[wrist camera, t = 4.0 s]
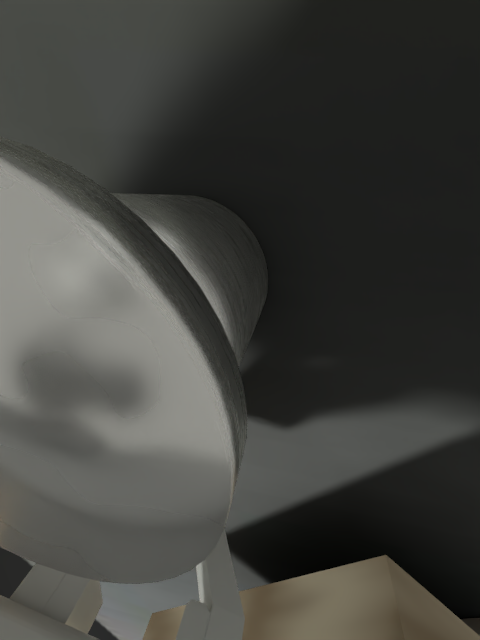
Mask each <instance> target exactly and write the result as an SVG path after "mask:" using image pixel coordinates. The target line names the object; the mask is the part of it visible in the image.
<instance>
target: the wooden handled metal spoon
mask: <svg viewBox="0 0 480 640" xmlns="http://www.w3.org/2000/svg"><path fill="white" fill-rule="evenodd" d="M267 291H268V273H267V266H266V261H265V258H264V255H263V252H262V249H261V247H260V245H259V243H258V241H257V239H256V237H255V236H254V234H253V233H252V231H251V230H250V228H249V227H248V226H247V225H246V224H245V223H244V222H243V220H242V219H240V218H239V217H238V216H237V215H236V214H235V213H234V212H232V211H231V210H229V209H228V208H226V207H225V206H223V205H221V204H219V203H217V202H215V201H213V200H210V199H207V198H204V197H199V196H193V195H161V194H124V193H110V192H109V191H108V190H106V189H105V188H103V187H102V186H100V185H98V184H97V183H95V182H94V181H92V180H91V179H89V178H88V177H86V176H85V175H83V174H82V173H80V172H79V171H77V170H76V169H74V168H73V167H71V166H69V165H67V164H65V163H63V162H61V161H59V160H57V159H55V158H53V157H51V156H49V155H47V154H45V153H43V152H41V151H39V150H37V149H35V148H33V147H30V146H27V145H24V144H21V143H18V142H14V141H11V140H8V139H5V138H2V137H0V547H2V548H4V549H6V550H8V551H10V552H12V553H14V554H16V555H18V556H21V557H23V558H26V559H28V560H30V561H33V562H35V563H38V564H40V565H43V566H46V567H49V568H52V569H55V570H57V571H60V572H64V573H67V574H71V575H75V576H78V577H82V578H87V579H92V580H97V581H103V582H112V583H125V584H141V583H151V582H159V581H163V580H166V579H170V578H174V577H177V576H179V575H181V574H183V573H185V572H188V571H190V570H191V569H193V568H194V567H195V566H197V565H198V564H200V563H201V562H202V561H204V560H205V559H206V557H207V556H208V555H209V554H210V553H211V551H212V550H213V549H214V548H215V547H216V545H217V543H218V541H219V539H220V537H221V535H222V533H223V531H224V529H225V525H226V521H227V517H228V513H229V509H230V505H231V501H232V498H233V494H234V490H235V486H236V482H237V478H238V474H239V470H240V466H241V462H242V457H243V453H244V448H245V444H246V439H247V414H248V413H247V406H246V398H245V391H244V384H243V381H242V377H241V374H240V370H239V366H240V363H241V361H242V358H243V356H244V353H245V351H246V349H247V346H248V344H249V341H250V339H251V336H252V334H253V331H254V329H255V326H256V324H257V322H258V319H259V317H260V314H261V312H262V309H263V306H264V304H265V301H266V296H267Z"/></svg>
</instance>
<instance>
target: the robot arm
mask: <svg viewBox="0 0 480 640" xmlns="http://www.w3.org/2000/svg"><path fill="white" fill-rule="evenodd" d="M196 569H197V578H198V587H199V597H200V602H198V601H196V600H193V599H192V600H191V601H189V602H188V603H187V604H186V607H185V610H184V614H183V617H182V620H181V623H180V626H179V630H178V633H177V636H176V639H175V640H242V635H243V628H244V622H245V617H244V613H243V608H242V604H241V599H240V595H239V590H238V586H237V582H236V577H235V573H234V568H233V564H232V559H231V555H230V551H229V546H228V542H227V537H226V533H225V529H224V531H223V533H222V535H221V537H220V539H219V541H218V543H217V545H216V547H215V548H214V549H213V550H212V551H211V553H210V554H209V555H208V556H207V557H206V559H205V560H204V561H202V562H201V563H200V564H198V565H197V566H196ZM102 603H103V602H102V593H101V587H100V582H99V581H97V580H92V579H87V578H82V577H78V576H75V575H71V574H67V573H64V572H60V571H57V570H55V569H52V568H49V567H46V566H43V565H40V564H38V563H36V564H35V565H34V567H33V568H32V569H31V571H30V572H29V573H28V575H27V576H26V577H25V579H24V580H23V581H22V583H21V584H20V585H19V587H18V588H17V589H16V591H15V592H14V593H13V595H12V596H11V597H10V599H8V598H6V597H3V596H1V595H0V640H99V639H97V638H95V637H93V636H90V635H88V632H89V630H90V628H91V625H92V624H93V621H94V620H95V618H96V616H97V614H98V611H99V609H100V607H101V605H102Z"/></svg>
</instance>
